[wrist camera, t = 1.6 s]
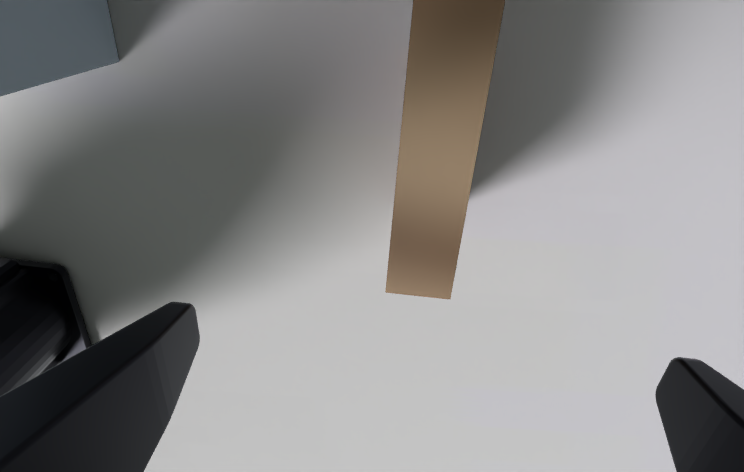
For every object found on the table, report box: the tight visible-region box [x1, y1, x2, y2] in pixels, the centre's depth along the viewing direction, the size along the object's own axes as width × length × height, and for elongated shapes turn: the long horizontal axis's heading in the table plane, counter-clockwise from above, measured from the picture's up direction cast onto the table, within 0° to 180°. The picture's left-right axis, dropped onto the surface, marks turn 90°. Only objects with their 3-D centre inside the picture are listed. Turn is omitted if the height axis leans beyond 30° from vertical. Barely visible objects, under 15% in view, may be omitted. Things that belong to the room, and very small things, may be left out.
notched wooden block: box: [386, 0, 505, 299], centre depth 13 cm, size 16×2×6 cm, turn 177°
